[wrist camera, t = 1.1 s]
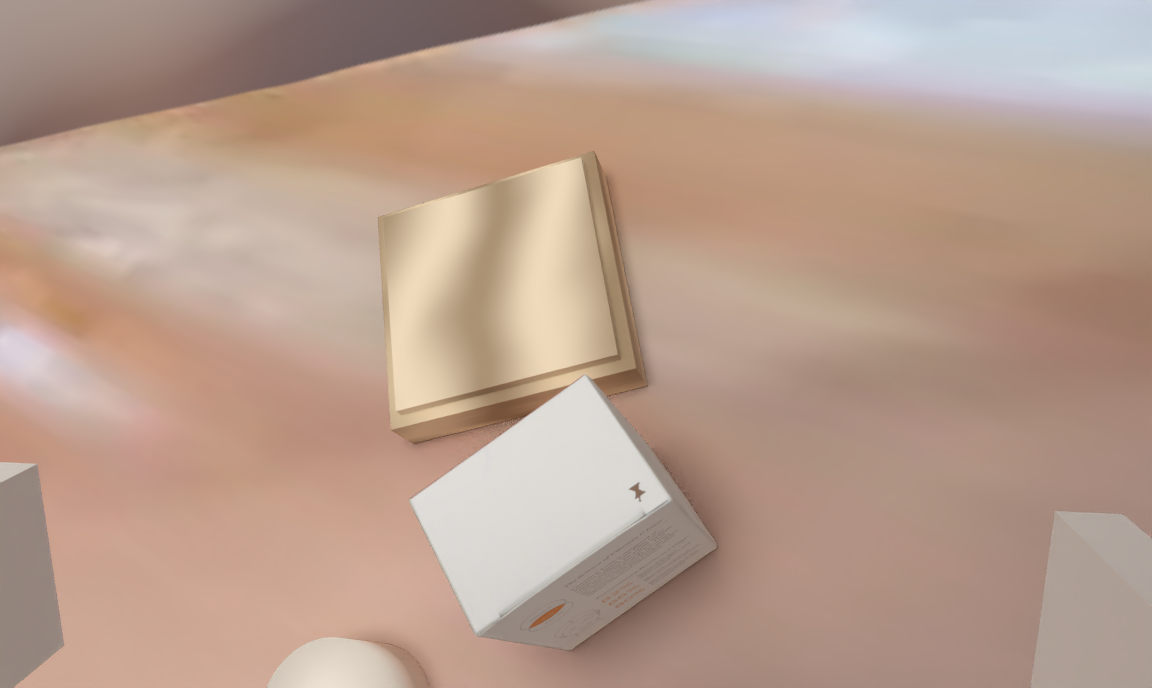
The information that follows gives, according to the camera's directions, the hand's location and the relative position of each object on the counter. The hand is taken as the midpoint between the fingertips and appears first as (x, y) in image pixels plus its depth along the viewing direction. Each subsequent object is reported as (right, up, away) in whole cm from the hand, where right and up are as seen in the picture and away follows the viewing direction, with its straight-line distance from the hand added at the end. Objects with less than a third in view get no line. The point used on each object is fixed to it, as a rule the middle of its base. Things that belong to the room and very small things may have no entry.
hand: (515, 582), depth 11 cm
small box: (+2, -6, +27) cm, 28 cm away
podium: (-2, +5, +33) cm, 34 cm away
